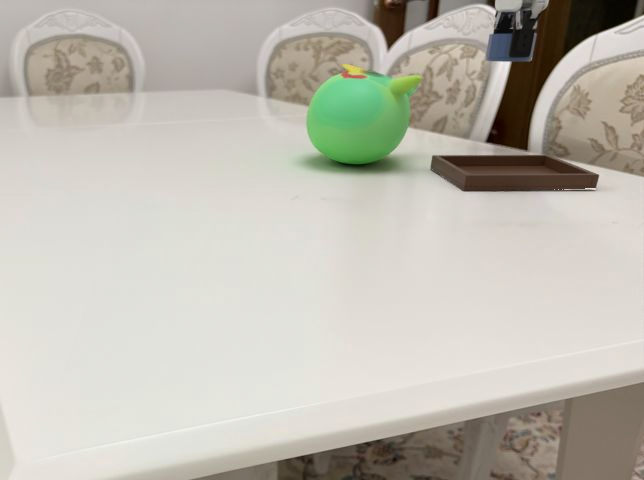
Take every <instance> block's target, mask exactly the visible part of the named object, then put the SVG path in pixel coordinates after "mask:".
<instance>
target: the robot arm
mask: <svg viewBox="0 0 644 480" xmlns="http://www.w3.org/2000/svg"><path fill="white" fill-rule="evenodd" d="M549 1H550V0H494V8H495V15H494V17H495V18H494V19H495V20H494V23H493V33H492V34H497V33H512V39H511V45H510V50H509V57H529V56H530V54H531V49H532V44H533V38H534V33H536V29H537V27H538V20H539V18H540V17H541V14H542V13H541V12H542V11H544V10H545V9H547V7H548V5H549ZM509 15H510V16H509ZM514 25H515V28H513V27H514Z"/></svg>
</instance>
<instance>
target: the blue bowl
mask: <svg viewBox="0 0 644 480" xmlns="http://www.w3.org/2000/svg"><path fill="white" fill-rule="evenodd" d="M537 36H538V34H537V32H535V33H534V38H533V44H532V49H531V54H530V56H529V57H509V50H510V45H511V39H512V33H497V34H493V33H489V34H488V42H487V46H486V52H485V60H484V61H487V62H503V63H504V62H505V63H506V62H508V63H509V62H510V63H511V62H513V63H514V62H516V63H517V62H531V61H533V56H534V51H535V45H536V40H537Z"/></svg>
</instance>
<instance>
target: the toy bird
mask: <svg viewBox="0 0 644 480" xmlns="http://www.w3.org/2000/svg"><path fill="white" fill-rule="evenodd" d="M341 66H342V67H343V68H344V70H346V72H341V73H338V74H336V75H333V76H332V77H330V78H328V79H327V80H325V81H324V82H323V83H322V84H321V85H320V86H319V87H318V89H317V90H316V91H315V93H314V94H313V96H312V98H311V100H310V103H309V105H308V109H307V113H306V122H305V123H306V133H307V135H308V138H309V140H310V142H311V144H312V145H313V147H314V148H315V149H316V150H317V151H318V152H319V153H320V154H322V155H323V156H324V157H326V158H329V159H330V160H332V161H335V162H338V163H340V164H341V163H342V164H347V165H366V164H371V163H374V162H377V161H379V160H382V159H384V158H385V157H387V156H389V155H390V154H391V153H393V152H394V151H395V150H396V149H397V148H398V146H399V145H400V144H401V142H402V141H403V139H404V138H405V136H406V133H407V131H408V129H409V125H410V121H411V103H410V97H411V96H412V95H413V94H414V93H415V92H416V90H417V89H418V88H419V86H420V84H421V82H422V81H423V77H422V76H421V75H418V74H415V75H406V76H400V77H397V78H396V77H395V78H392V77H390V76H388V75H386V74H384V73H380V72H377V71H376V70H373V69H372V70H371V69H365V68H362V67H359V66H356V65H352V64H348V63H342V64H341Z"/></svg>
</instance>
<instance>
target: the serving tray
mask: <svg viewBox="0 0 644 480" xmlns="http://www.w3.org/2000/svg"><path fill="white" fill-rule="evenodd" d="M429 168H431V169H433V170H434V171H436V172H437V173H438V174H437V173H436V172H435V173H436V174H437V175H439V174H440V175H441V176H440V175H439V176H440V177H442V176H443V177H444V178H443V177H442V178H443V179H445V180H446V179H447V180H446V181H447V182H449V181H450V182H449V183H451V184H452V183H453V184H452V185H454V186H455V187H457V188H459V189H460V190H462V191H463V192H494V191H495V192H508V191H509V192H513V191H514V192H520V191H519V190H554V189H555V190H558V189H559V190H562V189H563V190H564V189H585V188H596V189H597V186H598V182H599V178H600V174H598V173H596V172H593V171H591V170H589V169H585V168H584V167H581V166H578V165H575V164H573V163H570V162H568V161H565V160H563V159H560V158H558V157H555V156H553V155H550V154H433V155H431V161H430V166H429ZM431 169H430V170H431ZM434 171H433V172H434ZM517 190H518V191H517Z"/></svg>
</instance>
